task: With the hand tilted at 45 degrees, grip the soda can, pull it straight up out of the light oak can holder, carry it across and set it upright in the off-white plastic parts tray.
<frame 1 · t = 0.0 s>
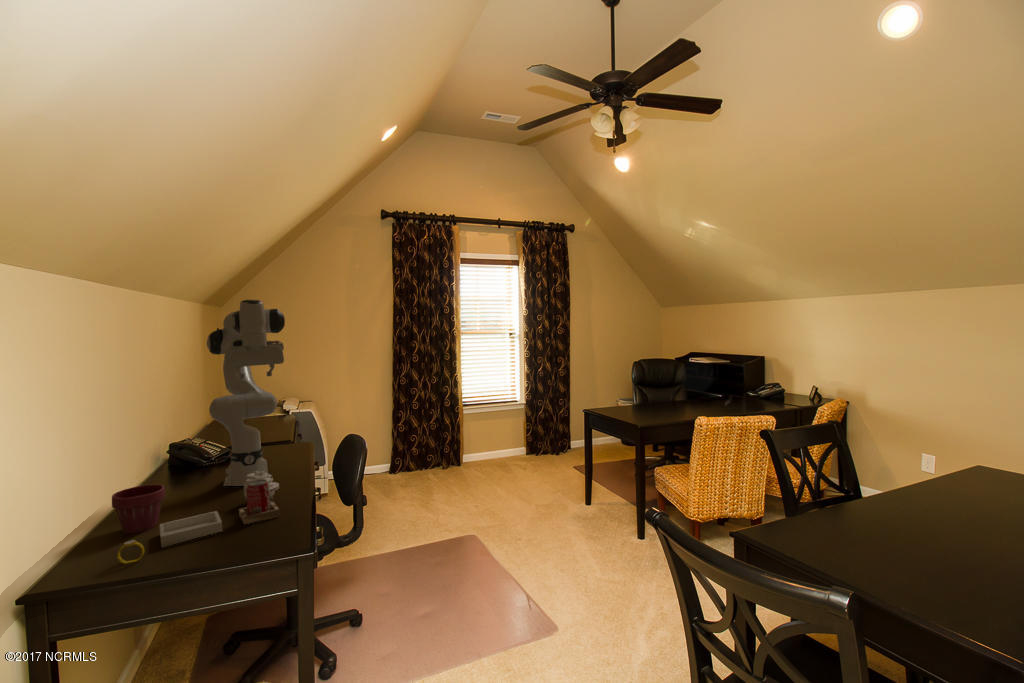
hand: (255, 377, 180), 48 cm above the table, tool pointing down, fingers open, 8 cm apart
mechanical part: (262, 501, 181), on the table
soda can: (259, 516, 165), resting in can holder
parts tray: (191, 533, 153), on the table
plant pot: (140, 528, 159), on the table
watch: (131, 562, 134), on the table
can holder: (259, 516, 165), on the table
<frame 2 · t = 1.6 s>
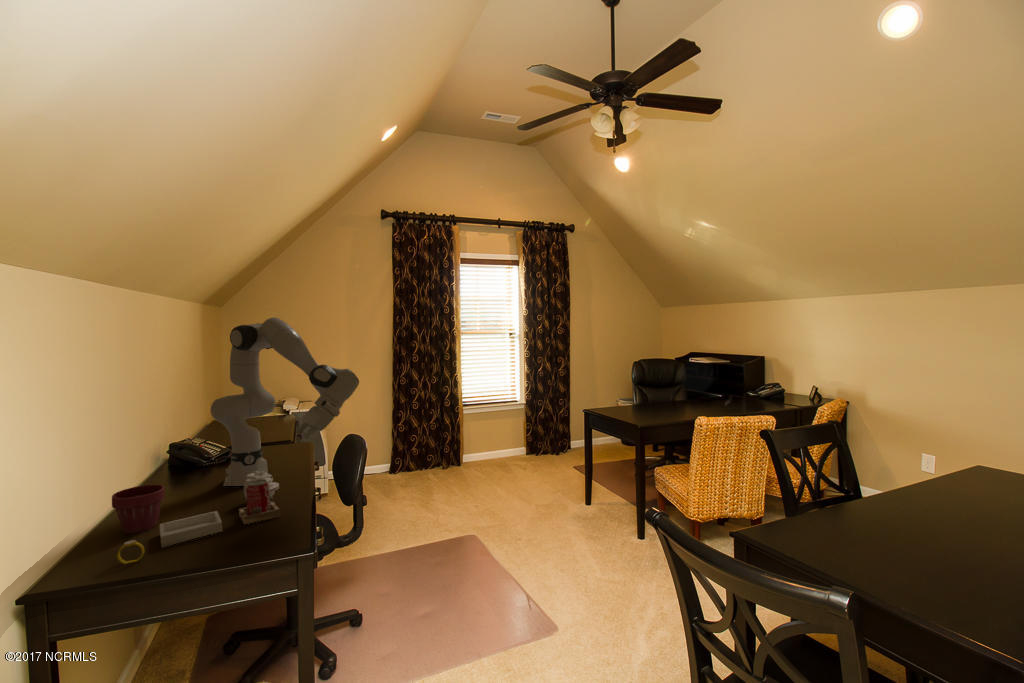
hand: (301, 436, 174), 26 cm above the table, tool tilted 45°, fingers open, 8 cm apart
nothing on the table moved.
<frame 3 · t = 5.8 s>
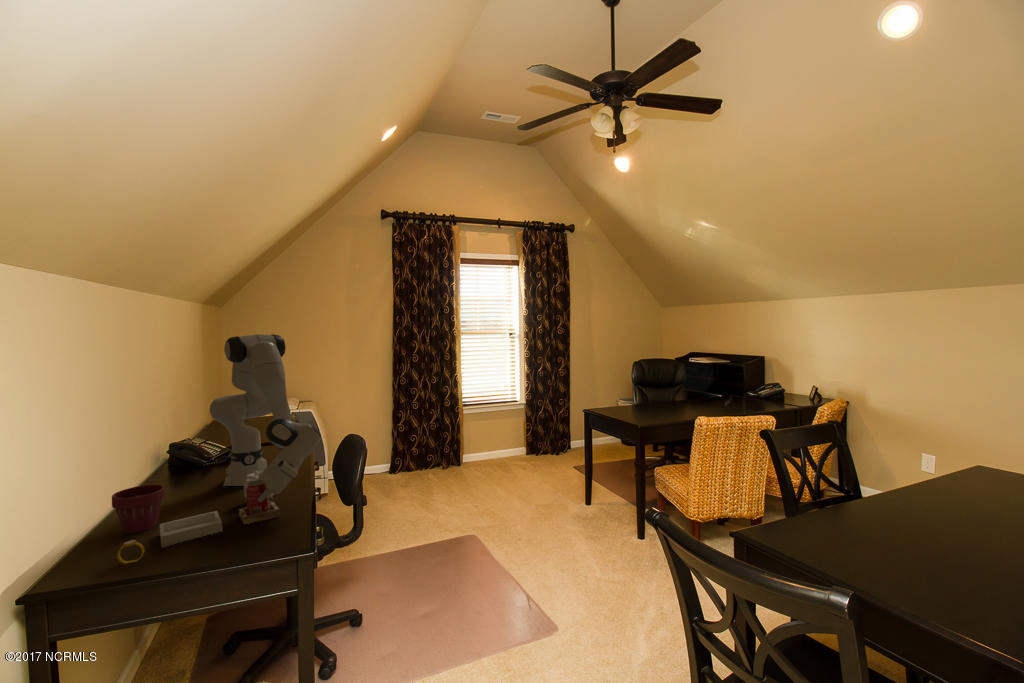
hand: (256, 498, 165), 7 cm above the table, tool tilted 45°, fingers closed on soda can, 7 cm apart
soda can: (259, 516, 165), resting in can holder, touching gripper
everything else where it was.
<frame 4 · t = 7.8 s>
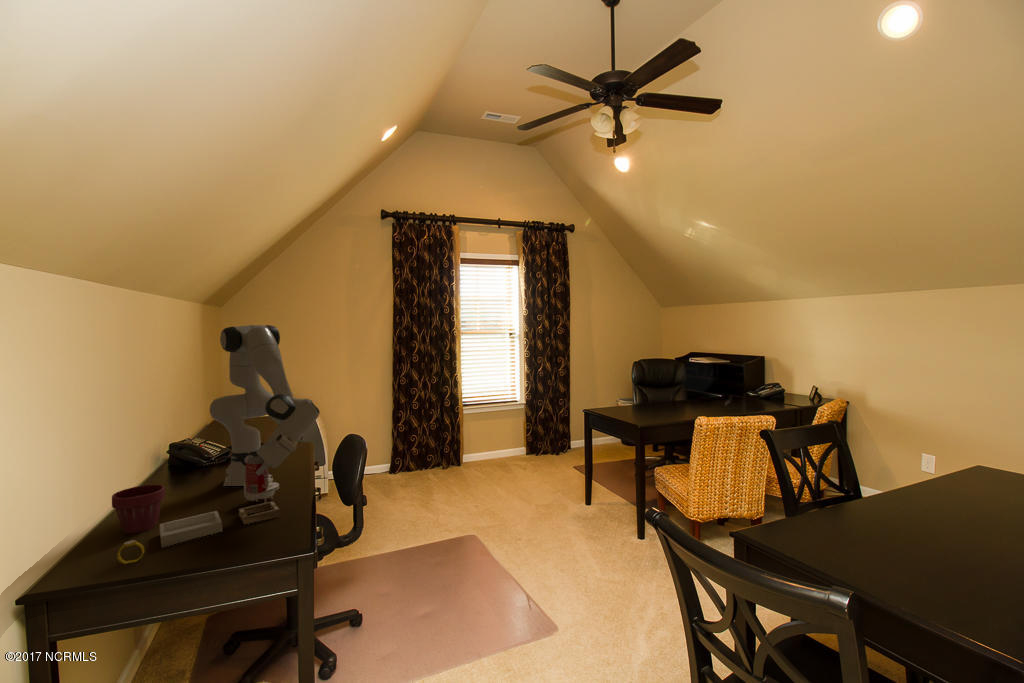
hand: (254, 471, 165), 16 cm above the table, tool tilted 45°, fingers closed on soda can, 6 cm apart
soda can: (257, 491, 167), point 8 cm above the table, touching gripper
everything else where it was.
when the fingers open (9 cm above the table, at t = 12.0 s): soda can stays where it is, resting on parts tray.
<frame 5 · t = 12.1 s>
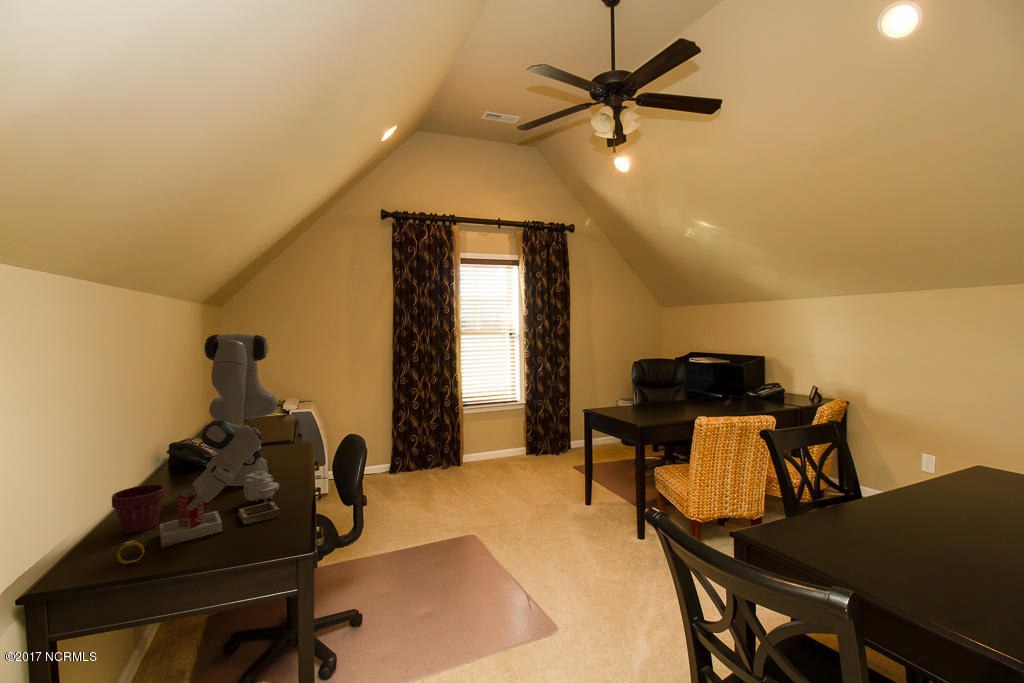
hand: (187, 506, 152), 9 cm above the table, tool tilted 45°, fingers open, 6 cm apart
soda can: (191, 524, 155), point 2 cm above the table, touching gripper, parts tray
everything else where it was.
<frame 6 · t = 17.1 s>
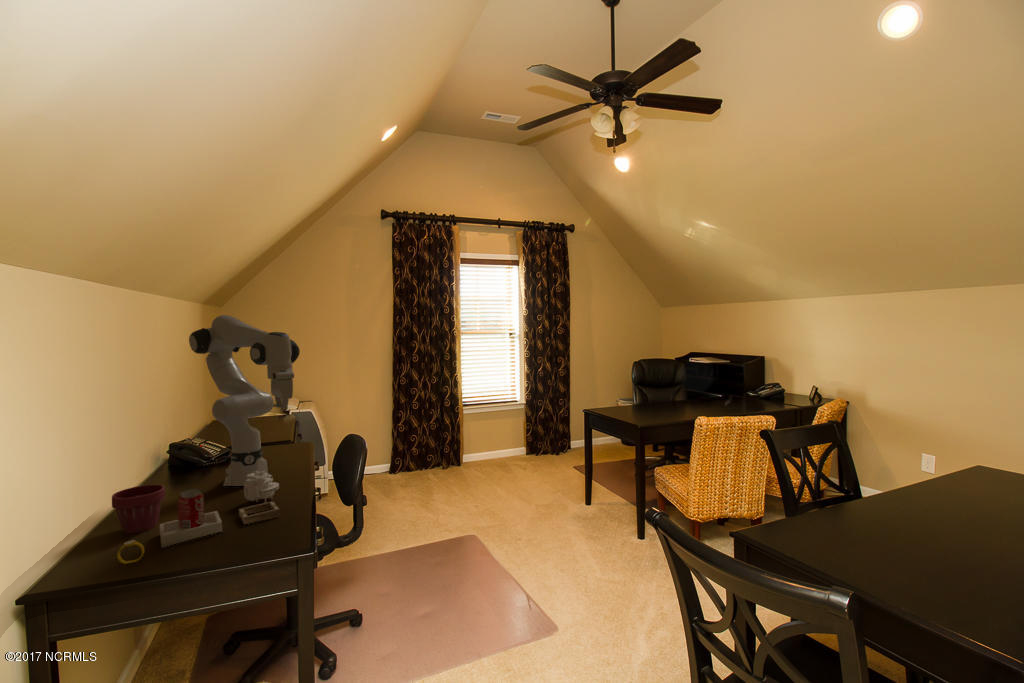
hand: (282, 408, 183), 35 cm above the table, tool pointing down, fingers open, 8 cm apart
soda can: (191, 526, 155), point 2 cm above the table, touching parts tray
everything else where it was.
at the end: soda can inside the target area on the parts tray (2.3 cm from its centre), point 1.6 cm above the parts tray's base; soda can tilted 13°; the gripper is holding nothing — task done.
